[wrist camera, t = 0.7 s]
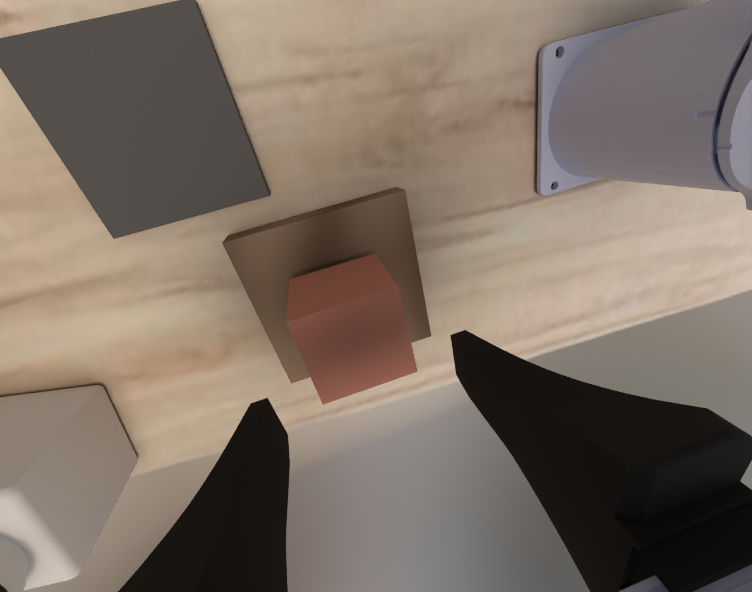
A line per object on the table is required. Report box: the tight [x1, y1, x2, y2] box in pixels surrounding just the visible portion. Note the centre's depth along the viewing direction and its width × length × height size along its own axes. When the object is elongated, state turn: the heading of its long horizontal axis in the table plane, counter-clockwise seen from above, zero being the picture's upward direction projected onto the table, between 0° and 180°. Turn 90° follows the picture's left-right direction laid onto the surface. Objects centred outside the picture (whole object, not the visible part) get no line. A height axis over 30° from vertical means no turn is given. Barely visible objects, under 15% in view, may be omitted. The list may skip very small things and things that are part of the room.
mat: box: [0, 0, 270, 239], centre depth 14 cm, size 8×8×1 cm
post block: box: [223, 187, 431, 383], centre depth 17 cm, size 10×10×6 cm
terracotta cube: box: [286, 254, 417, 404], centre depth 16 cm, size 5×5×5 cm
